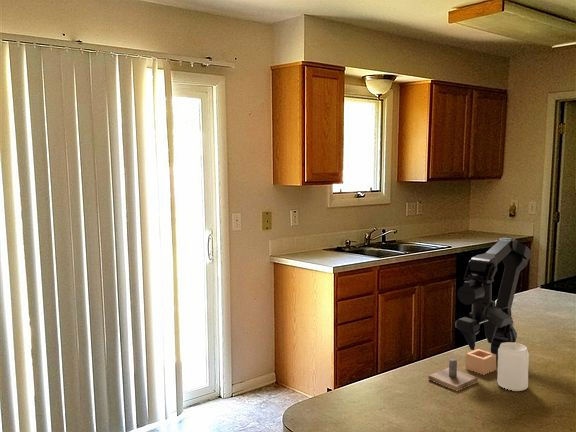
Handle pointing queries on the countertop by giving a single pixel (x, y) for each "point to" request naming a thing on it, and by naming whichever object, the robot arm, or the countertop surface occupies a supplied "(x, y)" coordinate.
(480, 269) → the robot arm
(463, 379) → the post stand
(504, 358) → the beverage can
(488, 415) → the countertop surface
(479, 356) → the collar
